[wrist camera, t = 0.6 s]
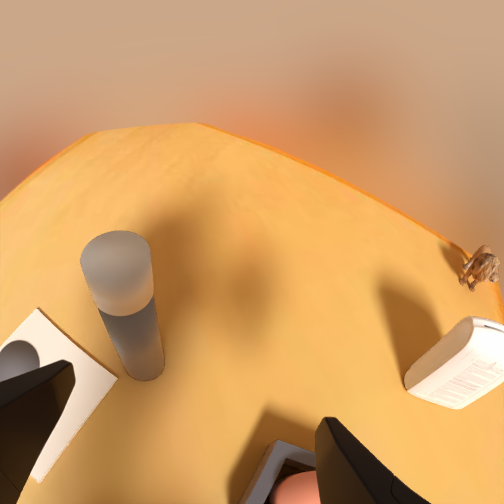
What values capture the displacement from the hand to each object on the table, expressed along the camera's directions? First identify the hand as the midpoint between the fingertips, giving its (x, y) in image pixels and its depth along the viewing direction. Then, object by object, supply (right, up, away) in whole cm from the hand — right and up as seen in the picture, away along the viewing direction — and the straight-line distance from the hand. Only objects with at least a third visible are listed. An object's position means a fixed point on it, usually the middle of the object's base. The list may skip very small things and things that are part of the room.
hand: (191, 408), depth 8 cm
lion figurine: (+43, 0, +34) cm, 55 cm away
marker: (-8, -5, +16) cm, 19 cm away
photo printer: (+23, -11, +18) cm, 31 cm away
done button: (+5, -15, +9) cm, 18 cm away
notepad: (-19, -8, +10) cm, 23 cm away
